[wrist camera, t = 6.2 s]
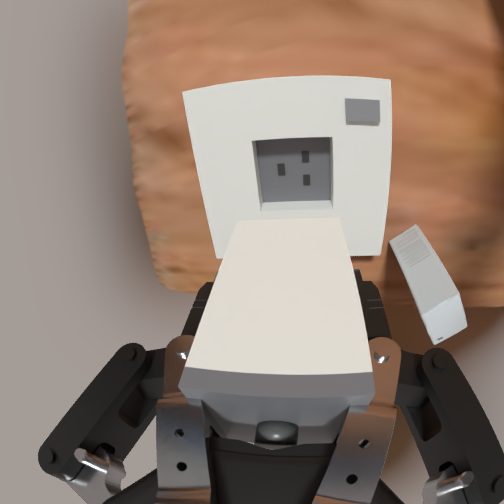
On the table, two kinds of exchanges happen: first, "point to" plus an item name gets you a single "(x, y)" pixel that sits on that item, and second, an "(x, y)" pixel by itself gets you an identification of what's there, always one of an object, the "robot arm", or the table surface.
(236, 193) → the socket plate
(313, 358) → the plug
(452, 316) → the skincare box
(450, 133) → the table surface
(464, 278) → the table surface
